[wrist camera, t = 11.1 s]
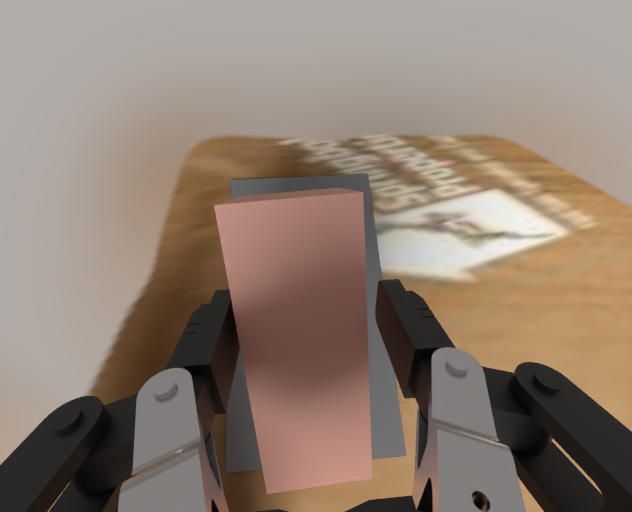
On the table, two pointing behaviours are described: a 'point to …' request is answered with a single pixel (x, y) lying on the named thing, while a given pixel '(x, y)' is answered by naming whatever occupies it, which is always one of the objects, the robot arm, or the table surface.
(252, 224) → the block
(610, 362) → the table surface
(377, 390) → the mat
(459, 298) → the table surface
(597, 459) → the robot arm
